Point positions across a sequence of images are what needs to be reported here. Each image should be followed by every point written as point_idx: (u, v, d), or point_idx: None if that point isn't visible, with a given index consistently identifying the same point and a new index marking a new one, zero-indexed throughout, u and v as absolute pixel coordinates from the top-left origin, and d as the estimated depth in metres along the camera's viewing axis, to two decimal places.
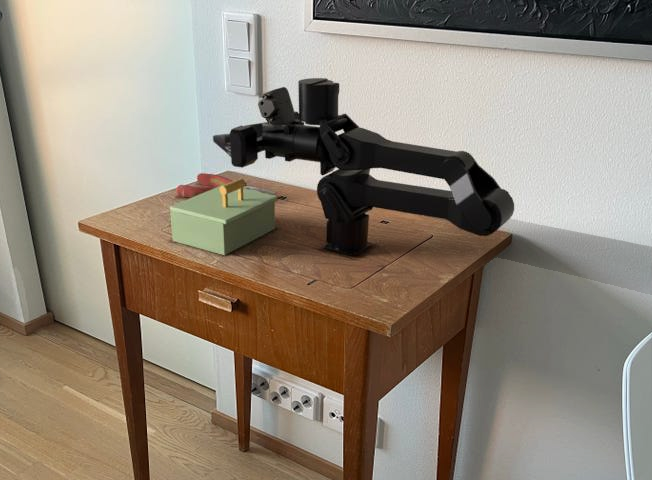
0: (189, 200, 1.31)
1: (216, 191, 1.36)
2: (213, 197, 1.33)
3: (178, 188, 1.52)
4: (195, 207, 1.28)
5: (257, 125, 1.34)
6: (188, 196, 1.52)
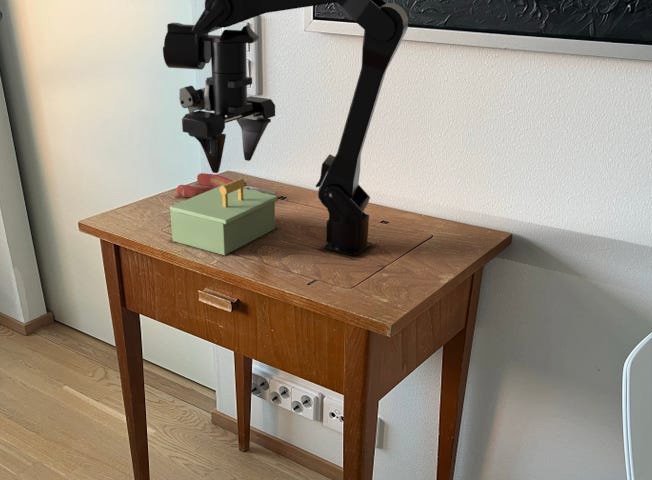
0: (189, 200, 1.31)
1: (216, 191, 1.36)
2: (213, 197, 1.33)
3: (178, 188, 1.52)
4: (195, 207, 1.28)
5: (243, 142, 1.29)
6: (188, 196, 1.52)
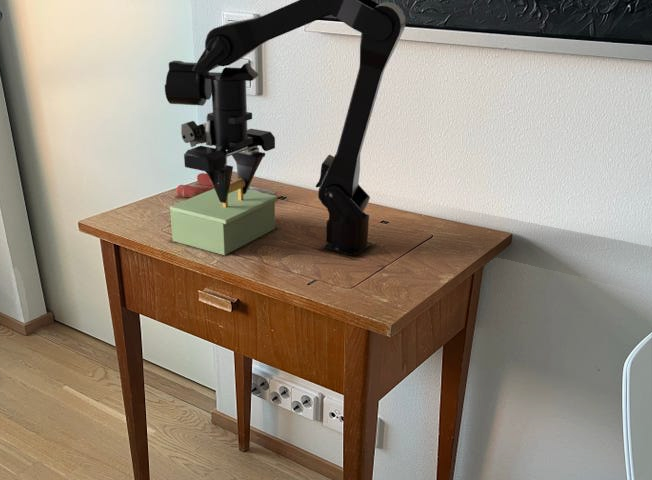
0: (189, 200, 1.31)
1: None
2: (213, 197, 1.33)
3: (178, 188, 1.52)
4: (195, 207, 1.28)
5: (238, 176, 1.31)
6: (188, 196, 1.52)
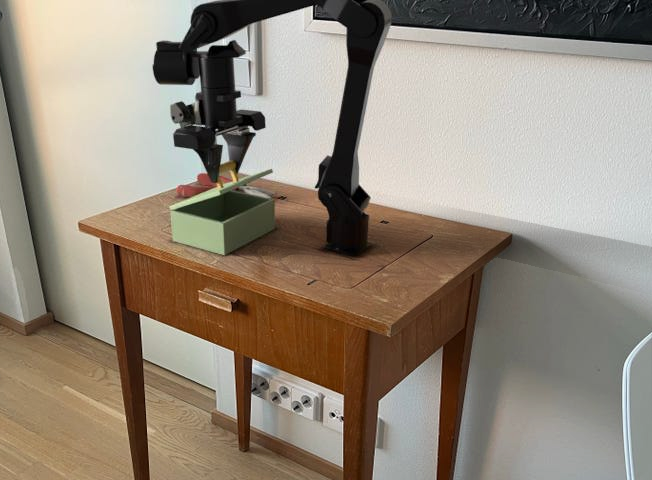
0: (188, 199, 1.31)
1: (215, 188, 1.36)
2: (211, 190, 1.33)
3: (178, 188, 1.52)
4: (192, 198, 1.28)
5: (229, 157, 1.30)
6: (188, 196, 1.52)
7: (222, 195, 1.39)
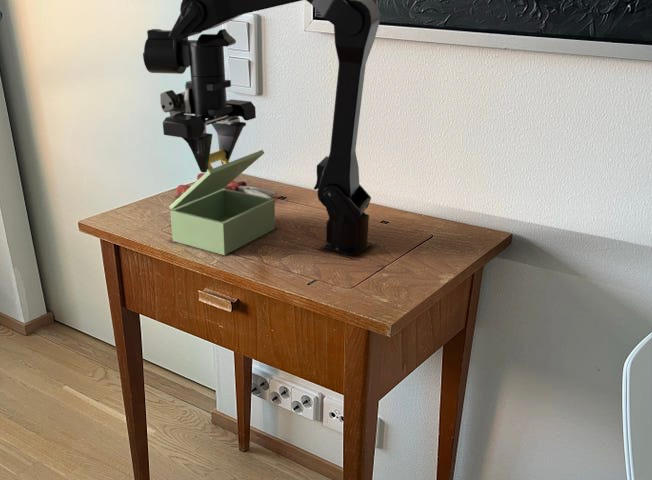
0: None
1: None
2: None
3: (178, 188, 1.52)
4: None
5: (219, 146, 1.30)
6: None
7: (222, 195, 1.39)
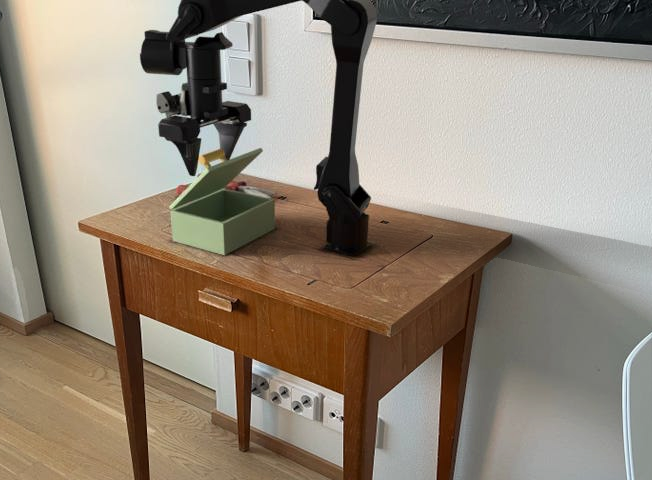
0: None
1: None
2: None
3: (178, 188, 1.52)
4: None
5: (220, 146, 1.32)
6: None
7: (222, 195, 1.39)
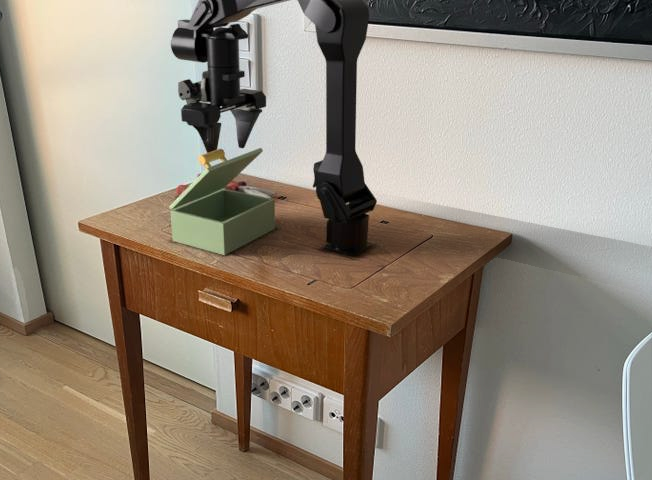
0: None
1: None
2: None
3: (178, 188, 1.52)
4: None
5: (237, 131, 1.40)
6: None
7: (222, 195, 1.39)
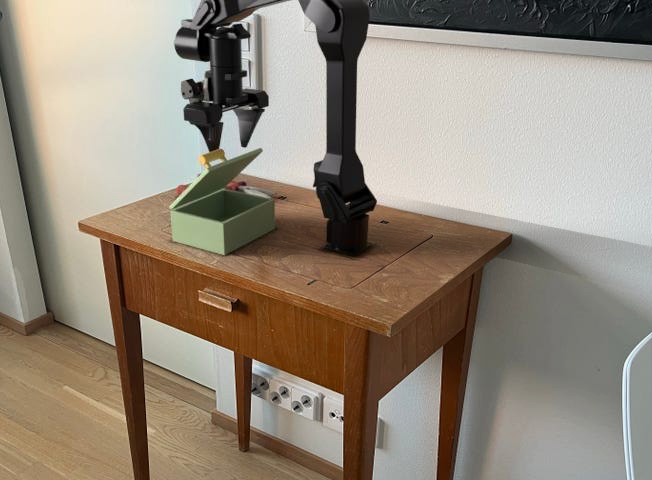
0: None
1: None
2: None
3: (178, 188, 1.52)
4: None
5: (240, 130, 1.41)
6: None
7: (222, 195, 1.39)
